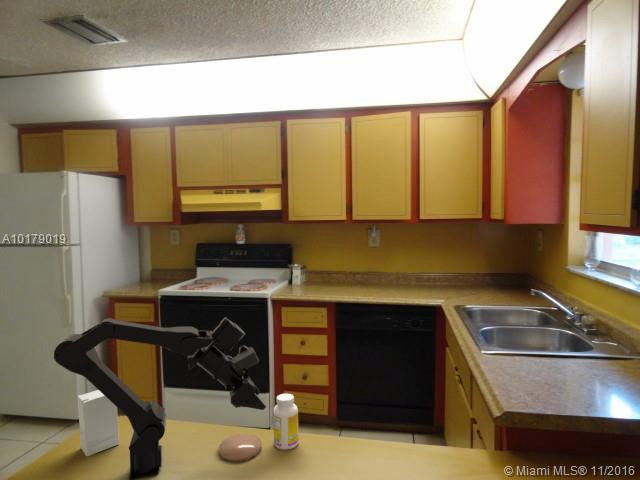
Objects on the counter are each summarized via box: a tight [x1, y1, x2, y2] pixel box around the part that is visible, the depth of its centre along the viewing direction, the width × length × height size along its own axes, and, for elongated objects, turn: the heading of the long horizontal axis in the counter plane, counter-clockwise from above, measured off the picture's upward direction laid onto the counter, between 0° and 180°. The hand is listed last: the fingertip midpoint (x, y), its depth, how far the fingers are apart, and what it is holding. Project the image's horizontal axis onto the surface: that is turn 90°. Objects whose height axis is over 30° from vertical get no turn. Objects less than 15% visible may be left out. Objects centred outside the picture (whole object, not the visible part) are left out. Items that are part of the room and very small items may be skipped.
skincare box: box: [77, 389, 120, 457], centre depth 106 cm, size 8×6×15 cm
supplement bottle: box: [272, 393, 300, 451], centre depth 106 cm, size 7×7×13 cm
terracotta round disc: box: [218, 433, 263, 462], centre depth 104 cm, size 11×11×1 cm
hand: (261, 400), depth 104 cm, fingers open, 9 cm apart
